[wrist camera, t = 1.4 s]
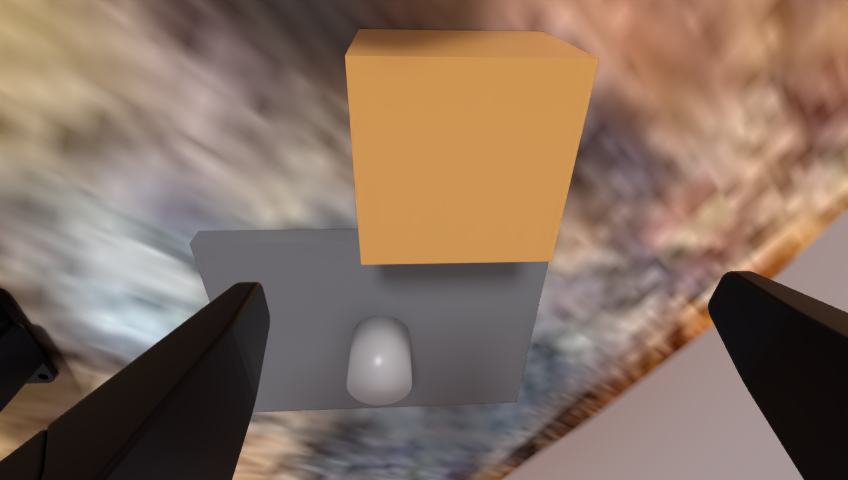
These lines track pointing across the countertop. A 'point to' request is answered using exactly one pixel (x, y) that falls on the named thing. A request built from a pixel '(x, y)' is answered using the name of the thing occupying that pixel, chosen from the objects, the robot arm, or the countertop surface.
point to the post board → (345, 291)
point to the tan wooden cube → (463, 142)
